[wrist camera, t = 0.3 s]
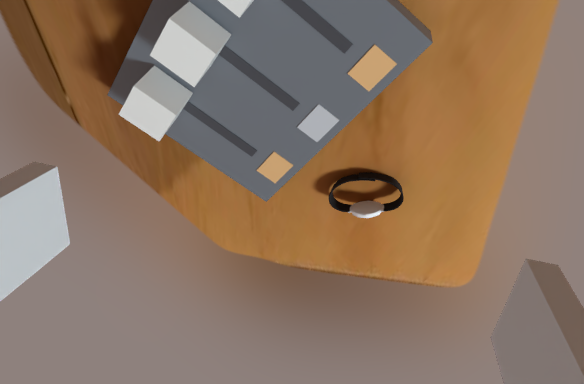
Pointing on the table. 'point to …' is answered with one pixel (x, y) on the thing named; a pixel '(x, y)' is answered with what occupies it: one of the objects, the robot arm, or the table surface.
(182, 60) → the tab middle
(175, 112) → the tab
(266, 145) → the switch panel
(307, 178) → the table surface
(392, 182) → the watch
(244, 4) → the tab
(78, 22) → the table surface
